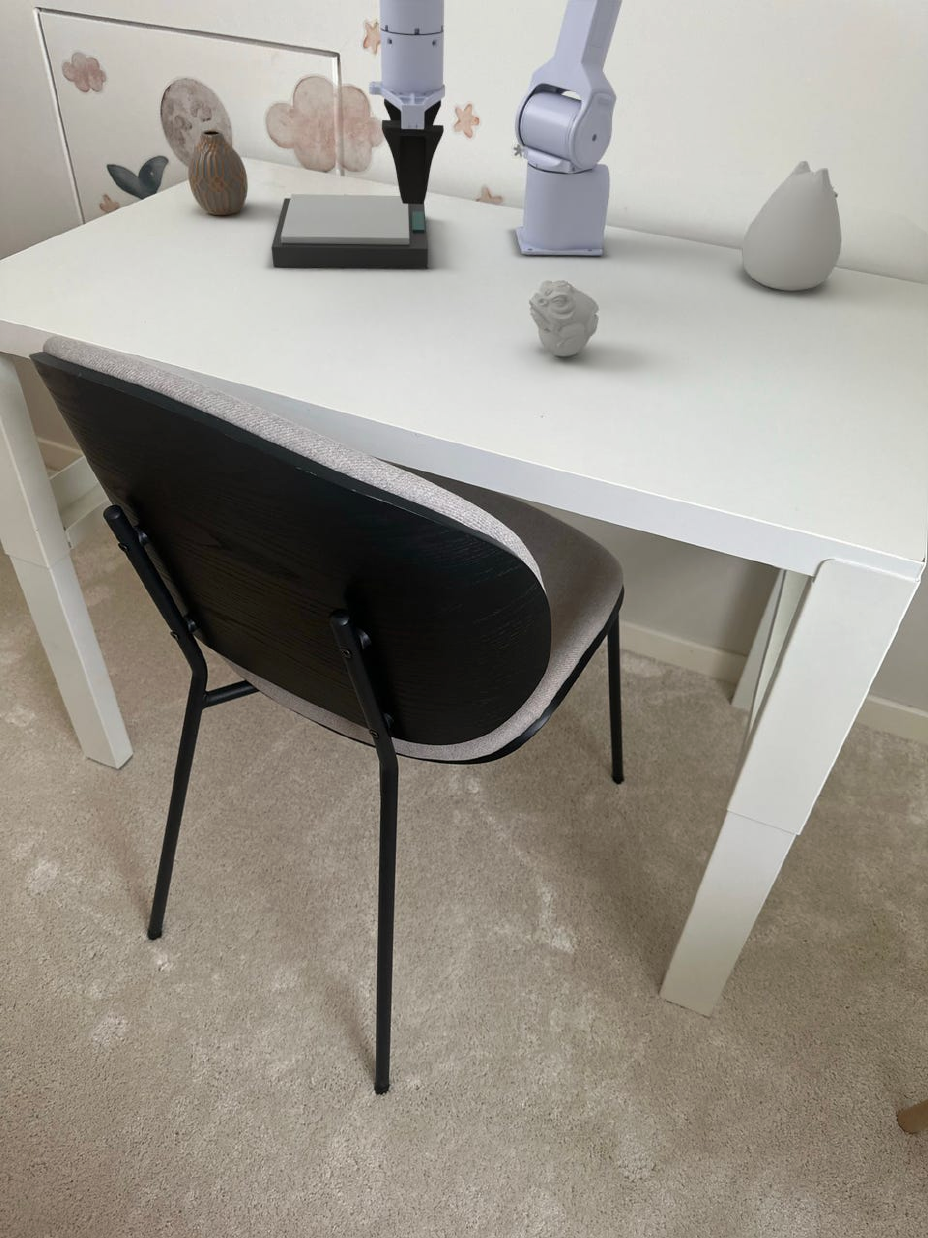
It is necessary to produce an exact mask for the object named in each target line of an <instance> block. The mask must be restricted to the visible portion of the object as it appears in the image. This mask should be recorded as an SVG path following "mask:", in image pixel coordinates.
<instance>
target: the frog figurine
mask: <svg viewBox="0 0 928 1238" xmlns="http://www.w3.org/2000/svg"><path fill="white" fill-rule="evenodd" d="M528 303H529V305H530V306H529V310H530V313H529V314H530V316H531V317H532V320H533V322H534V324H535V325H536V326H537V332H538V333H537V334H538V337H539V340H540V343H541V344H542V346H543V347H544V348H545V350H546V351H548V352H549V353H551V354H552V355H555V356H557V357H571V356H573V355H576V354H578V353H579V352H581V351H582V350H583V349H584V348H585V347H586V346H587V345H588V343H589V340H590V338H592V337H593V336H594V334H595V333H596V332H597V328H598V323H599V316H598V314H597V313H598V312H599V309H600V308H599V305H598V303H597V302H596V301H595V300H594V299H593V298H592V297H591V296H589V295H588V294H587V293H584V292H583V291H581V290H579V289H577V288H576V287H574V286H573V285H572V284H570V283H569V282H568V280H564V279H562V280H556V281H552V280H548V279H547V280H544V281H543V282H541V283H540V286H539V292H535V293H534V294H533V296H532V298H531V299H529V300H528Z"/></svg>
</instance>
